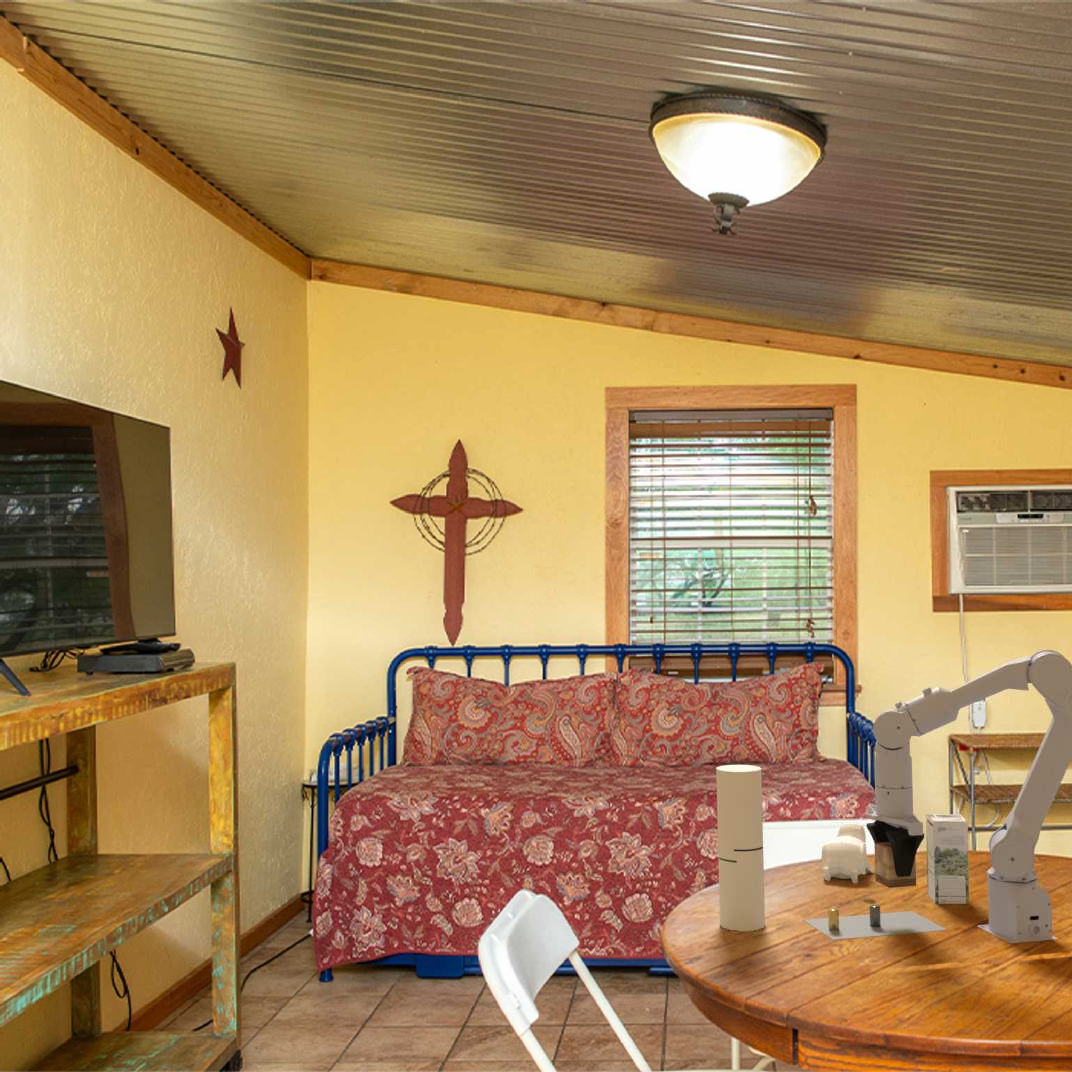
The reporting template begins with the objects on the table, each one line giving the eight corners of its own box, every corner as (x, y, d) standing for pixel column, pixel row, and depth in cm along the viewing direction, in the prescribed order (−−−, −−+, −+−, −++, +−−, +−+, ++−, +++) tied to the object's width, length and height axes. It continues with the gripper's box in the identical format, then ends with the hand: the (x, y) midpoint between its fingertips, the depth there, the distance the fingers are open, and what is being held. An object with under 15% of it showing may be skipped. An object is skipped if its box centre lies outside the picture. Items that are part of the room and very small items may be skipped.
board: (947, 933, 190) (947, 929, 190) (833, 943, 187) (833, 939, 187) (911, 914, 201) (911, 911, 201) (803, 923, 197) (803, 919, 197)
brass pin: (841, 934, 191) (840, 910, 192) (831, 934, 191) (830, 911, 191) (836, 931, 193) (835, 908, 193) (827, 932, 193) (826, 908, 193)
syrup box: (961, 898, 211) (959, 812, 211) (970, 907, 205) (967, 819, 205) (927, 897, 211) (925, 812, 212) (935, 907, 205) (932, 819, 206)
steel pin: (882, 930, 193) (881, 907, 193) (873, 931, 192) (872, 908, 193) (877, 927, 194) (877, 904, 194) (868, 928, 194) (867, 905, 194)
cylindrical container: (764, 932, 193) (760, 772, 194) (718, 930, 195) (715, 771, 195) (765, 919, 200) (761, 764, 201) (721, 917, 202) (717, 764, 202)
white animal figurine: (867, 899, 222) (879, 852, 235) (862, 859, 219) (875, 813, 232) (819, 895, 226) (834, 848, 239) (814, 855, 223) (829, 811, 236)
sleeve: (916, 885, 193) (915, 847, 194) (889, 887, 193) (888, 849, 193) (902, 878, 198) (900, 841, 198) (875, 880, 197) (874, 842, 197)
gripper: (850, 779, 202) (851, 862, 202) (892, 795, 188) (894, 884, 187) (889, 777, 203) (891, 860, 203) (934, 792, 189) (936, 882, 189)
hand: (895, 872), depth 195 cm, fingers closed on sleeve, 5 cm apart
